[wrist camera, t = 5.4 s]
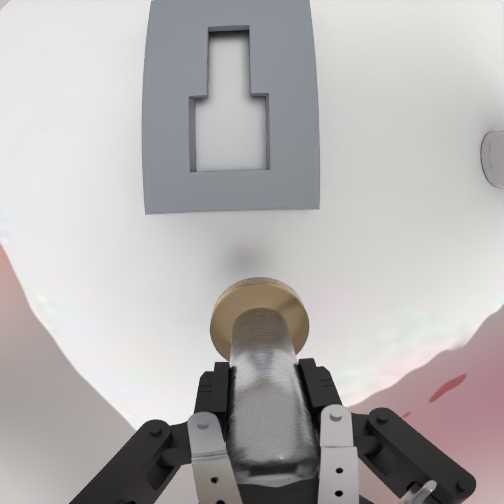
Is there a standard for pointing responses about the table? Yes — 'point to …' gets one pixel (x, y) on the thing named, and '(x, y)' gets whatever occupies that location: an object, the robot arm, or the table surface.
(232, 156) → the table surface
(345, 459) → the robot arm
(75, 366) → the table surface
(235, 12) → the keyhole plate
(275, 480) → the steel peg
